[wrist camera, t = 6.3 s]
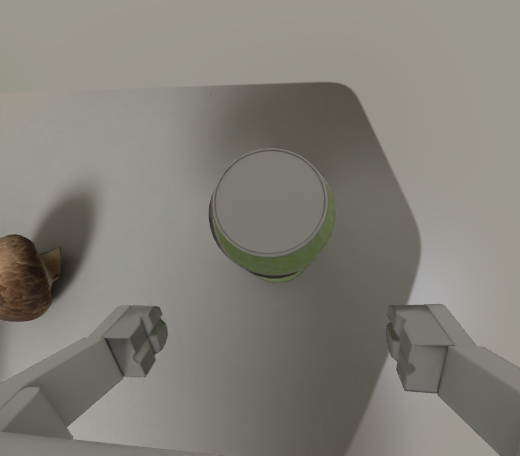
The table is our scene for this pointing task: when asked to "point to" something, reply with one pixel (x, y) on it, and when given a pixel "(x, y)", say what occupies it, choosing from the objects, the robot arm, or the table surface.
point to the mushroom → (26, 278)
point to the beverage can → (271, 213)
